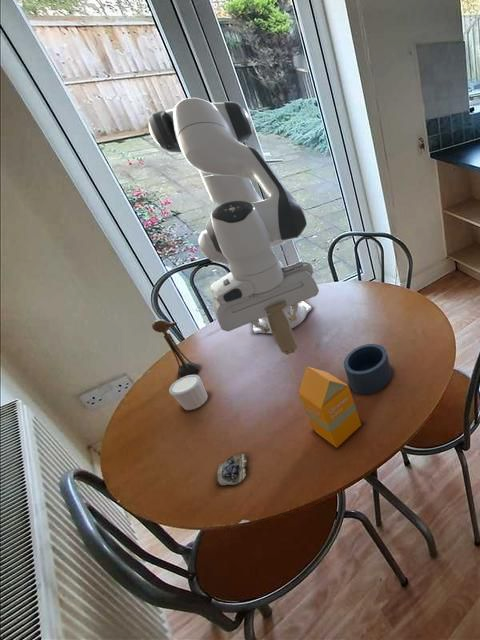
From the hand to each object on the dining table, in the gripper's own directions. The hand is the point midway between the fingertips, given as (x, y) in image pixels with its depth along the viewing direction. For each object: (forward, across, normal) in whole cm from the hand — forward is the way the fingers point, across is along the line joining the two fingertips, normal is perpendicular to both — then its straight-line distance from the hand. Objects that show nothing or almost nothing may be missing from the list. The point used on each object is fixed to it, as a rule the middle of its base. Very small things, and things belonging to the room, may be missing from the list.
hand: (279, 325), depth 93 cm
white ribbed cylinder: (+29, +23, -24) cm, 44 cm away
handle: (+8, 0, 0) cm, 8 cm away
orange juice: (+29, -2, +11) cm, 31 cm away
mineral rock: (+29, +20, +6) cm, 36 cm away
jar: (+29, -16, +1) cm, 33 cm away
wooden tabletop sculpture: (+29, +22, -38) cm, 53 cm away
